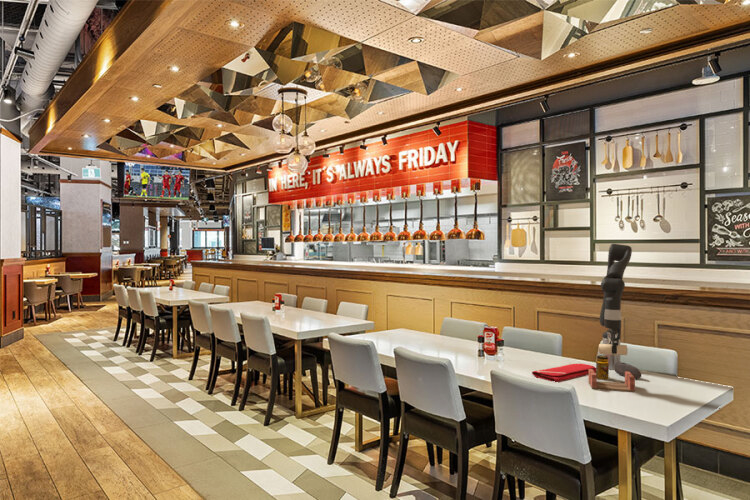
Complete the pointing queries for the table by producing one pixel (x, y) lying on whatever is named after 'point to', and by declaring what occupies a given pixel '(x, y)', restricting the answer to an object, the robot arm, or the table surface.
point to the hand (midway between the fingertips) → (612, 352)
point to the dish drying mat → (563, 372)
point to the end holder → (612, 383)
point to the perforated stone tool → (627, 369)
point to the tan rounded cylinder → (608, 349)
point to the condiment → (602, 368)
